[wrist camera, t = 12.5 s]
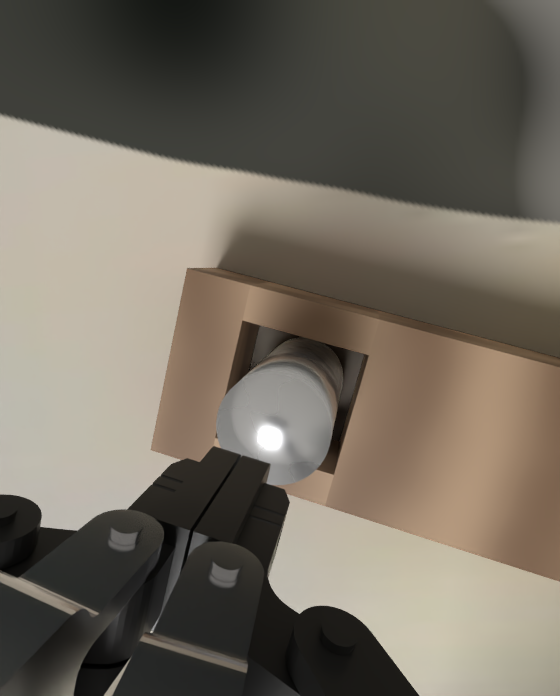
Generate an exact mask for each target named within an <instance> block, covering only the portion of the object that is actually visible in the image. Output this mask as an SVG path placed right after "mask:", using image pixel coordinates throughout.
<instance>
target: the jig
mask: <svg viewBox="0 0 560 696" xmlns="http://www.w3.org/2000/svg"><path fill="white" fill-rule="evenodd" d="M259 325H261V326H265V327H268V328H272V329H276V330H279V331H283V332H286V333H290V334H294V335H297V336H301V337H305V338H308V339H312V340H315V341H319V342H323V343H326V344H330V345H334V346H337V347H341V348H344V349H348V350H352V351H355V352H359V353H362V354H365V355H364V359H363V362H362V366H361V369H360V372H359V376H358V379H357V383H356V386H355V390H354V393H353V396H352V400H351V403H350V407H349V410H348V414H347V417H346V420H345V424H344V427H343V431H342V434H341V438H340V441H336V440H333V439H331V442H330V446H329V449H328V452H327V455H326V457H325V459H324V460H323V462H322V463H321V465H320V466H319V467H318V468H317V469H316V470H315V471H314V472H313V473H312V474H311V475H309V476H308V477H306V478H304V479H302V480H300V481H298V482H295V483H291V484H286V485H273V486H276V487H279V488H282V489H285V491H286V494H289V495H292V496H295V497H299V498H302V499H305V500H308V501H311V502H314V503H317V504H320V505H323V506H327V507H330V508H333V509H336V510H339V511H342V512H345V513H348V514H351V515H354V516H358V517H361V518H364V519H367V520H370V521H373V522H376V523H379V524H382V525H386V526H389V527H392V528H395V529H398V530H401V531H404V532H407V533H410V534H414V535H417V536H420V537H423V538H426V539H429V540H432V541H435V542H438V543H442V544H445V545H448V546H451V547H454V548H457V549H460V550H463V551H466V552H470V553H473V554H476V555H479V556H482V557H485V558H488V559H491V560H494V561H498V562H501V563H504V564H507V565H510V566H513V567H516V568H519V569H522V570H526V571H529V572H532V573H535V574H538V575H541V576H544V577H547V578H550V579H553V580H557V581H560V358H557V357H554V356H550V355H546V354H542V353H538V352H535V351H531V350H527V349H523V348H519V347H516V346H512V345H508V344H504V343H500V342H497V341H493V340H489V339H485V338H481V337H478V336H474V335H470V334H466V333H462V332H459V331H455V330H451V329H447V328H443V327H440V326H436V325H432V324H428V323H424V322H421V321H417V320H413V319H409V318H405V317H402V316H398V315H394V314H390V313H386V312H383V311H379V310H375V309H371V308H367V307H364V306H360V305H356V304H352V303H348V302H345V301H341V300H337V299H333V298H329V297H326V296H322V295H318V294H314V293H310V292H307V291H303V290H299V289H295V288H291V287H288V286H284V285H280V284H276V283H272V282H269V281H265V280H261V279H257V278H253V277H250V276H246V275H242V274H238V273H234V272H231V271H227V270H223V269H219V268H187V272H186V277H185V282H184V287H183V292H182V296H181V301H180V306H179V311H178V316H177V321H176V326H175V331H174V336H173V341H172V346H171V351H170V356H169V361H168V366H167V371H166V376H165V381H164V386H163V391H162V396H161V401H160V406H159V411H158V416H157V421H156V426H155V431H154V436H153V441H152V446H151V450H152V451H156V452H159V453H162V454H165V455H168V456H171V457H174V458H177V459H180V460H184V459H186V458H189V459H192V460H195V461H198V462H200V461H201V460H202V459H203V458H204V456H205V455H206V454H207V453H208V452H209V450H210V449H211V448H212V447H213V446H216V447H219V448H221V447H220V444H219V441H218V438H217V431H216V420H217V413H218V410H219V407H220V404H221V402H222V400H223V399H224V397H225V395H226V394H227V393H228V392H229V390H230V389H231V388H232V387H233V386H234V385H236V384H237V383H238V382H239V381H240V380H241V379H242V378H243V377H244V376H246V375H247V374H248V371H249V367H250V363H251V359H252V355H253V350H254V346H255V342H256V338H257V334H258V329H259Z"/></svg>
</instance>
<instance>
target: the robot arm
mask: <svg viewBox="0 0 560 696" xmlns="http://www.w3.org/2000/svg"><path fill="white" fill-rule="evenodd" d="M270 466H271V464H270V463H267V462H263V461H260V460H257V459H254V458H251V457H248V456H244V455H243V456H242V457H241V454H238V453H235V452H231V451H228V450H225V449H222V448H219V447H216V446H213V447H212V448H211V449H210V450H209V452H208V453H207V454H206V455H205V456H204V458H203V459H202V460H201V461H200V462H198V461H195V460H192V459H189V458H186V459H184V460H181V461H178V462H176V463H173V464H171V465H170V466H169V467H168V468H167V469H166V470H165V471H164V472H163V473H162V474H161V477H160V476H159V477H158V478H157V479H156V480H155V481H154V482H153V485H151V486H150V487H149V488H148V489H147V490H146V491H145V492H144V493H143V494H142V495H141V496H140V497H139V498H138V499H137V500H136V501H135V502H134V503H133V504H132V505H131V506H130V507H129V508H128V509H127V510H122V509H121V510H112V511H108V512H104V513H102V514H100V515H97V516H96V517H94V518H93V519H92V520H90V521H89V522H88V523H87V524H85V525H84V526H83V527H82V528H80V529H79V530H78V531H75V530H63V529H54V528H44V527H40V524H41V517H42V515H41V510H40V508H39V507H38V505H36V504H35V503H34V502H32V501H31V500H29V499H26V498H23V497H20V496H14V495H0V696H419V695H418V693H417V692H416V691H415V689H414V688H413V687H412V686H411V684H410V683H409V682H408V680H407V679H406V678H405V676H404V675H403V674H402V672H401V671H400V670H399V668H398V667H397V666H396V664H395V663H394V662H393V660H392V659H391V658H390V656H389V655H388V654H387V653H386V651H385V650H384V649H383V647H382V646H381V645H380V643H379V642H378V641H377V639H376V638H375V637H374V635H373V634H372V633H371V631H370V630H369V629H368V628H367V627H366V626H365V625H364V624H363V623H362V622H361V621H360V620H358V619H357V618H356V617H354V616H353V615H351V614H349V613H348V612H345V611H343V610H341V609H338V608H335V607H330V606H314V607H311V608H308V609H306V610H304V611H303V612H302V613H300V614H299V613H297V612H295V611H294V610H292V609H291V608H290V607H288V606H287V605H286V604H284V603H283V602H282V601H281V600H280V599H279V598H278V597H277V596H276V594H275V593H274V591H273V590H272V588H271V586H270V584H269V580H268V576H269V573H270V570H271V567H272V563H273V560H274V557H275V554H276V550H277V546H278V543H279V539H280V536H281V532H282V528H283V525H284V521H285V518H286V514H287V510H288V507H289V503H290V502H289V499H288V497H287V494H286V491H285V489H282V488H279V487H276V486H273V485H270V484H267V479H268V475H269V471H270ZM150 631H153V633H150Z"/></svg>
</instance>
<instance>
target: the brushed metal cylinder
mask: <svg viewBox="0 0 560 696" xmlns="http://www.w3.org/2000/svg"><path fill="white" fill-rule="evenodd" d="M342 385H343V370H342V366H341V363H340V361H339V359H338V357H337V356H336V354H335V353H334V352H333V351H332V350H331V349H330V348H329V347H328V346H327V345H325V344H324V343H322V342H319V341H315V340H312V339H308V338H294V339H290V340H288V341H285V342H283V343H282V344H280V345H279V346H278V347H277V348H275V349H274V350H273V351H272V352H271V353H270V354H269V355H268V356H267V357H265V358H264V359H263V360H262V361H261V362H260V363H259V364H258V365H257V366H255V367H254V368H253V369H252V370H251V371H250V372H249V373H248V374H247V375H246V376H244V377H243V378H242V379H241V380H240V381H239V382H238V383H237V384H236V385H234V386H233V387H232V388H231V389H230V390H229V392H228V393H227V394H226V395H225V397H224V399H223V400H222V402H221V404H220V407H219V410H218V413H217V420H216V431H217V438H218V441H219V444H220V447H221V448H222V449H225V450H228V451H231V452H235V453H238V454H241V457H242V456H243V455H244V456H248V457H251V458H254V459H257V460H260V461H263V462H267V463H270V464H271V466H270V471H269V475H268V479H267V484H270V485H286V484H291V483H295V482H298V481H300V480H302V479H304V478H306V477H308V476H309V475H311V474H312V473H313V472H314V471H315V470H316V469H317V468H318V467H319V466H320V465H321V463H322V462H323V460H324V459H325V457H326V455H327V452H328V449H329V446H330V442H331V437H332V433H333V428H334V423H335V418H336V414H337V409H338V404H339V400H340V395H341V390H342Z"/></svg>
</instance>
